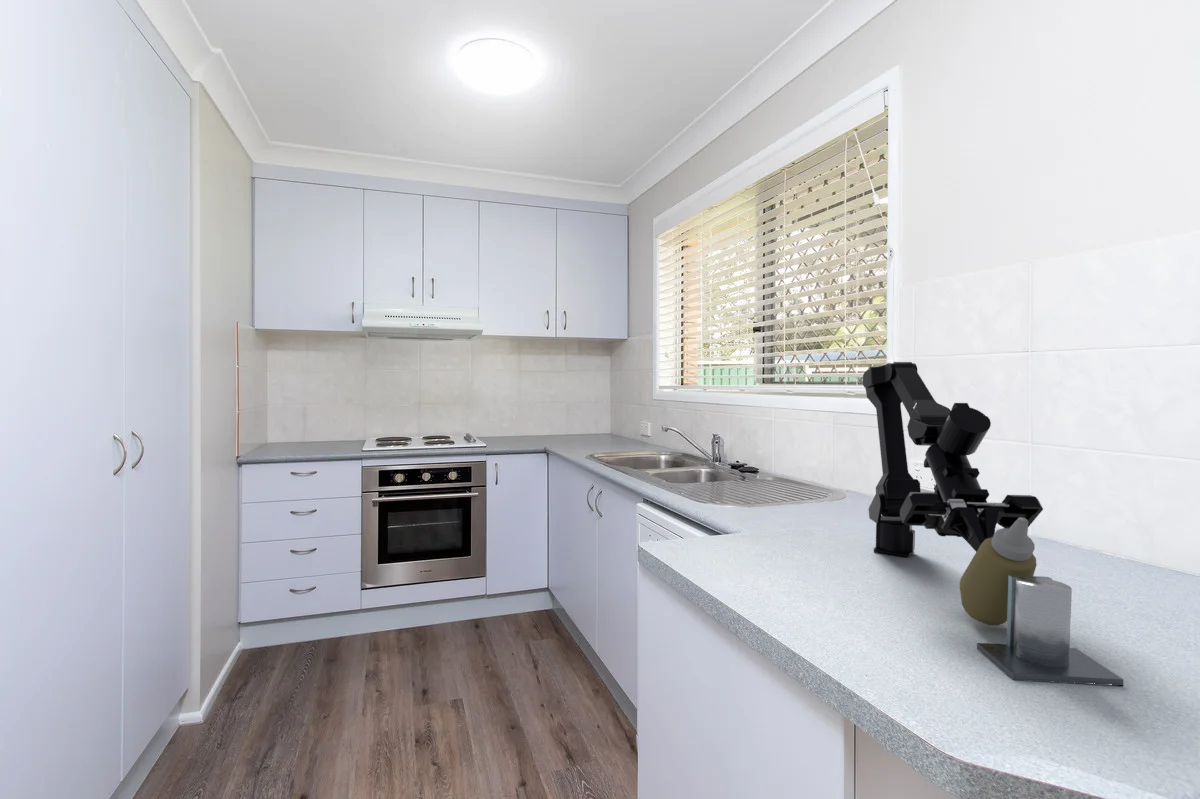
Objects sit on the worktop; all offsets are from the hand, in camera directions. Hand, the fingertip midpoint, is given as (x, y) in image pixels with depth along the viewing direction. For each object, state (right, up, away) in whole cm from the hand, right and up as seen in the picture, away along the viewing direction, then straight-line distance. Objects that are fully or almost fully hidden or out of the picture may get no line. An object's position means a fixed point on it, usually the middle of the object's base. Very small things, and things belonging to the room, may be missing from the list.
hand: (988, 559), depth 85 cm
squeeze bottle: (0, -8, +1) cm, 8 cm away
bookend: (-1, -10, -13) cm, 16 cm away
